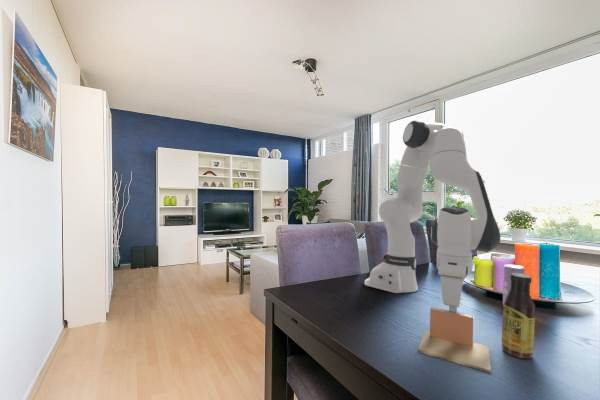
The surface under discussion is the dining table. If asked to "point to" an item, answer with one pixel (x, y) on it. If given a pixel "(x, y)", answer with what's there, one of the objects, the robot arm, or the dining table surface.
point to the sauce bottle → (518, 318)
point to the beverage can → (506, 277)
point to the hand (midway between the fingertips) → (453, 312)
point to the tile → (451, 326)
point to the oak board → (456, 352)
